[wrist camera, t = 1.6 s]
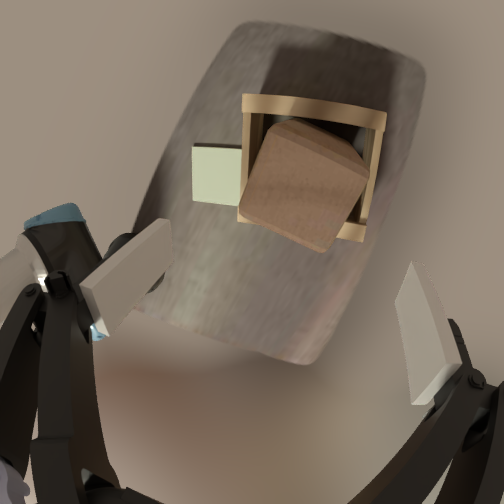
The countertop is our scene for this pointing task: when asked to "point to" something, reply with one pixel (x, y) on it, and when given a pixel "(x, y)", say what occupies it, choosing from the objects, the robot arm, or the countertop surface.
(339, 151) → the wooden block
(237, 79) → the countertop surface
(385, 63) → the countertop surface
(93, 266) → the robot arm
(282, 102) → the crate
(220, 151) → the mat
